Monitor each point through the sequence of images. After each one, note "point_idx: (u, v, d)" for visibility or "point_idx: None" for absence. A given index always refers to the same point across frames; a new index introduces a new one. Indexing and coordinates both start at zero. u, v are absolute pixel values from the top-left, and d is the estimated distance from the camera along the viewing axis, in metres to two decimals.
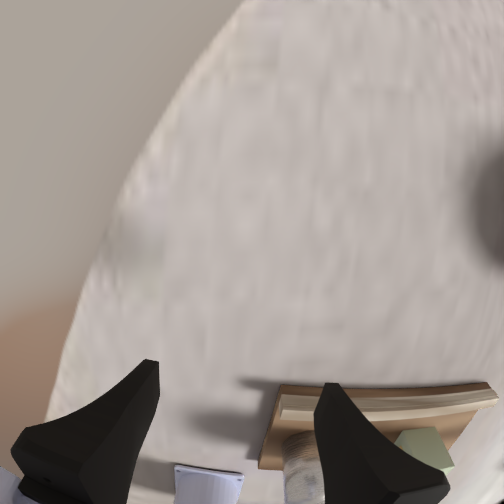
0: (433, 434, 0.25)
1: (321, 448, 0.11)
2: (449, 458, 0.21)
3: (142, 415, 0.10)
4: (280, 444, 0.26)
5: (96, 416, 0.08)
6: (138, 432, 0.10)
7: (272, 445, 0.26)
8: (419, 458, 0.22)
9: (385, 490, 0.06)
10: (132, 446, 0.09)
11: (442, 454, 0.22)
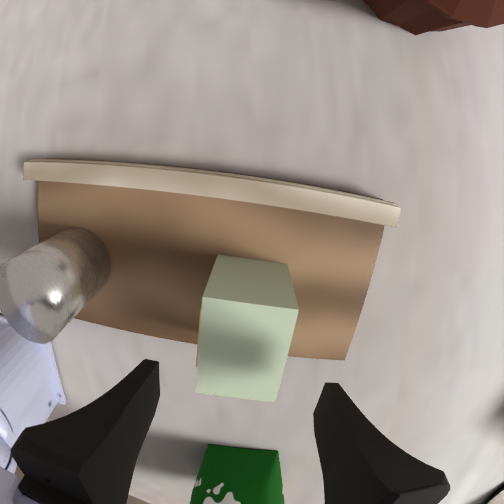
0: (276, 269, 0.19)
1: (321, 447, 0.11)
2: (291, 298, 0.15)
3: (142, 415, 0.10)
4: None
5: (96, 416, 0.08)
6: (137, 432, 0.10)
7: None
8: (219, 281, 0.16)
9: (385, 490, 0.06)
10: (132, 446, 0.09)
11: (277, 290, 0.16)
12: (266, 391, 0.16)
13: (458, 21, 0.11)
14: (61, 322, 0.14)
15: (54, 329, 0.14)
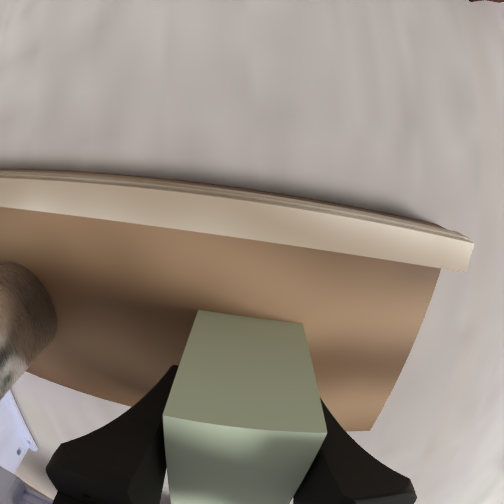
0: (287, 336, 0.12)
1: None
2: (314, 405, 0.08)
3: None
4: None
5: (133, 427, 0.08)
6: None
7: None
8: (194, 374, 0.09)
9: (341, 495, 0.06)
10: (164, 454, 0.09)
11: (290, 387, 0.09)
12: None
13: None
14: None
15: None
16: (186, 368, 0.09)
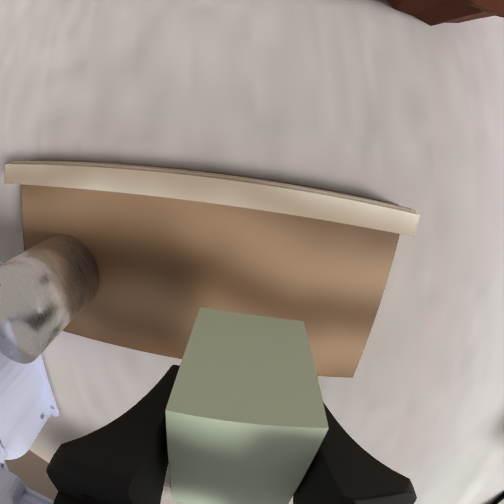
0: (288, 333, 0.12)
1: None
2: (315, 400, 0.09)
3: None
4: None
5: (134, 427, 0.08)
6: None
7: None
8: (197, 370, 0.09)
9: (341, 495, 0.06)
10: (165, 454, 0.09)
11: (291, 384, 0.09)
12: None
13: (480, 10, 0.09)
14: (42, 342, 0.12)
15: (35, 350, 0.12)
16: (188, 364, 0.09)
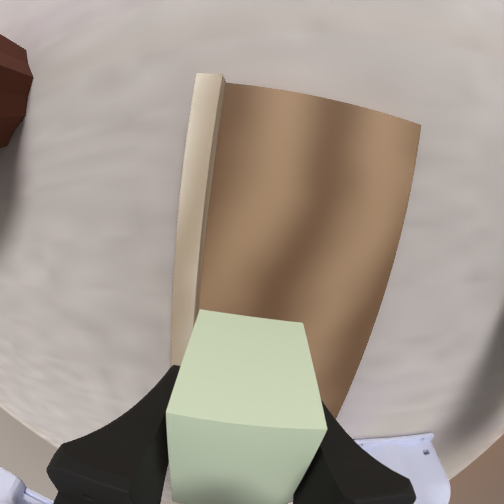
0: (287, 335, 0.12)
1: None
2: (314, 402, 0.09)
3: None
4: None
5: (134, 427, 0.08)
6: None
7: None
8: (197, 372, 0.09)
9: (340, 495, 0.06)
10: (165, 454, 0.09)
11: (291, 385, 0.09)
12: None
13: None
14: None
15: None
16: (188, 366, 0.09)
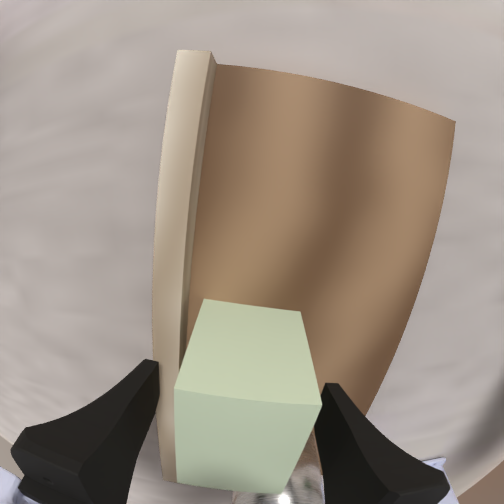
0: (285, 322, 0.13)
1: (321, 447, 0.11)
2: (310, 381, 0.10)
3: (142, 415, 0.10)
4: None
5: (96, 416, 0.08)
6: (137, 432, 0.10)
7: None
8: (202, 354, 0.10)
9: (385, 490, 0.06)
10: (132, 446, 0.09)
11: (288, 366, 0.10)
12: (270, 485, 0.10)
13: None
14: None
15: None
16: (194, 349, 0.10)
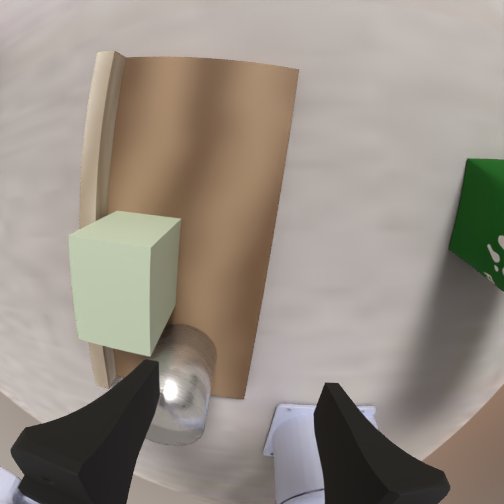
0: (164, 221, 0.18)
1: (321, 448, 0.11)
2: (153, 240, 0.15)
3: (142, 415, 0.10)
4: None
5: (96, 416, 0.08)
6: (137, 432, 0.10)
7: None
8: (95, 226, 0.15)
9: (385, 490, 0.06)
10: (132, 446, 0.09)
11: (145, 234, 0.15)
12: (139, 342, 0.15)
13: None
14: (172, 391, 0.15)
15: (178, 400, 0.15)
16: (92, 225, 0.15)
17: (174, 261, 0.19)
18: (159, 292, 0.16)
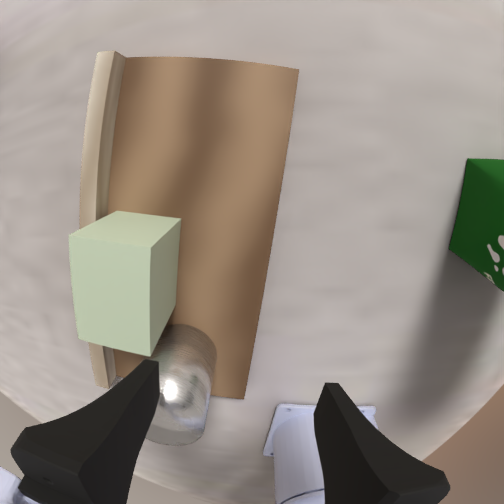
0: (164, 221, 0.18)
1: (321, 448, 0.11)
2: (153, 240, 0.15)
3: (142, 415, 0.10)
4: None
5: (96, 416, 0.08)
6: (137, 432, 0.10)
7: None
8: (95, 226, 0.15)
9: (385, 490, 0.06)
10: (132, 446, 0.09)
11: (145, 234, 0.15)
12: (139, 342, 0.15)
13: None
14: (172, 391, 0.15)
15: (178, 400, 0.15)
16: (92, 225, 0.15)
17: (174, 261, 0.19)
18: (159, 292, 0.16)
